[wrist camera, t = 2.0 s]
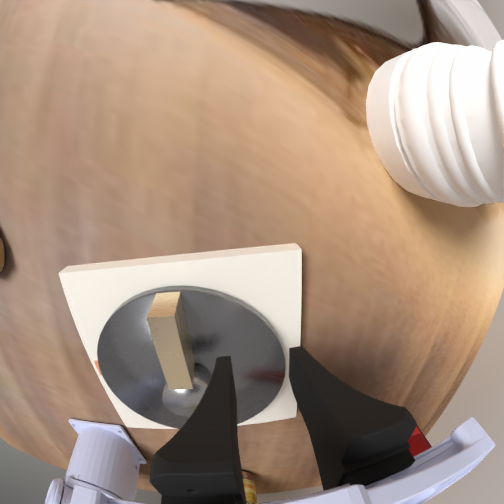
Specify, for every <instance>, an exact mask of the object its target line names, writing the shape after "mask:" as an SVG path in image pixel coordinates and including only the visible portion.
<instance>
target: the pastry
mask: <svg viewBox="0 0 504 504" xmlns="http://www.w3.org/2000/svg"><path fill="white" fill-rule="evenodd" d="M3 266H4V244H3V241H2V239H1V237H0V272H1V271H2V269H3Z"/></svg>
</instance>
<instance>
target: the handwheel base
mask: <svg viewBox="0 0 504 504" xmlns="http://www.w3.org/2000/svg"><path fill="white" fill-rule="evenodd" d="M59 276H60V280H61V283H62V286H63V290H64V293H65V296H66V299H67V302H68V305H69V308H70V311H71V313H72V316H73V319H74V322H75V324H76V327H77V329H78V332H79V335H80V337H81V339H82V342H83V344H84V347H85V349H86V351H87V353H88V356H89V358H90V360H91V362H92V364H93V367H94V369H95V371H96V373H97V375H98V377H99V379H100V381H101V383H102V385H103V387H104V389H105V390H106V392H107V394H108V396H109V398H110V400H111V401H112V403H113V405H114V407H115V408H116V410H117V412H118V414H119V415H120V417H121V419H122V420H123V422H124V423H125V425H126V427H134V428H154V429H177V428H172V427H168V426H164V425H161V424H158V423H156V422H153V421H151V420H149V419H146V418H144V417H143V416H141V415H139V414H137V413H136V412H134V411H133V410H131V409H130V408H128V407H127V406H126V405H125V404H124V403H122V402H121V401H120V400H119V399H118V398H117V397H116V396H115V394H114V393H113V392H112V391H111V389H110V388H109V387H108V385H107V383H106V382H105V380H104V378H103V376H102V373H101V371H100V368H99V364H98V358H97V346H98V340H99V337H100V333H101V331H102V329H103V328H104V326H105V324H106V322H107V320H108V319H109V317H110V316H111V315H112V313H113V312H114V311H115V310H116V309H117V308H118V307H119V306H120V305H121V304H122V303H123V302H125V301H127V300H128V299H130V298H131V297H133V296H135V295H137V294H140V293H142V292H144V291H147V290H151V289H154V288H159V287H166V286H182V285H186V286H197V287H203V288H208V289H213V290H216V291H219V292H222V293H226V294H228V295H231V296H233V297H235V298H237V299H239V300H241V301H243V302H244V303H246V304H248V305H249V306H251V307H252V308H254V309H255V310H256V311H257V312H259V313H260V314H261V315H262V316H263V317H264V318H265V319H266V320H267V321H268V322H269V324H270V325H271V326H272V328H273V329H274V331H275V332H276V334H277V337H278V339H279V341H280V343H281V346H282V349H283V353H284V356H285V364H286V370H285V378H284V381H283V385H282V387H281V389H280V391H279V393H278V394H277V396H276V397H275V399H274V400H273V401H272V402H271V403H270V404H269V405H268V406H267V407H266V408H265V409H264V410H263V411H262V412H260V413H259V414H257V415H256V416H254V417H252V418H251V419H249V420H247V421H245V422H242V423H240V424H237V426H238V425H248V424H256V423H263V422H270V421H276V420H282V419H288V418H293V417H296V410H297V402H296V399H295V397H294V394H293V391H292V387H291V384H290V380H289V348H292V347H298V346H300V337H301V297H302V249H301V248H300V247H299V246H298V245H297V244H296V243H291V244H281V245H271V246H260V247H250V248H240V249H230V250H220V251H210V252H200V253H190V254H180V255H170V256H160V257H150V258H141V259H131V260H121V261H112V262H102V263H93V264H83V265H74V266H67V267H66V268H64V269H63V270H62V271H61V272H60V273H59Z"/></svg>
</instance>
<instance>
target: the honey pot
mask: <svg viewBox="0 0 504 504" xmlns="http://www.w3.org/2000/svg"><path fill="white" fill-rule="evenodd" d="M366 113H367V126H368V129H369V133H370V136H371V140H372V144H373V147H374V149H375V151H376V153H377V155H378V157H379V159H380V161H381V163H382V165H383V167H384V168H385V169H386V171H387V172H388V173H389V175H390V176H391V177H392V179H393V180H394V181H395V182H396V183H398V184H399V185H400V186H401V187H403V188H404V189H405V190H406V191H408V192H411V193H413V194H416V195H418V196H421V197H424V198H428V199H432V200H436V201H440V202H443V203H448V204H454V205H456V206H458V207H477V206H479V205H481V204H483V203H486V204H492V203H494V202H502V203H504V40H501V41H498V42H497V43H496V45H495V47H494V49H493V50H492V52H490V51H487V50H486V49H484V48H480V47H477V46H467V47H466V46H461V45H451V44H446V43H440V42H436V43H430V44H427V45H423V46H420V47H419V48H416V49H413V50H412V51H409V52H406V53H404V54H402V55H400V56H397V57H395V58H393V59H391V60H389V61H387V62H385V63H384V64H383V65H382V66H381V67H380V68H379V69H378V70H377V71H376V72H375V74H374V76H373V78H372V80H371V82H370V84H369V87H368V94H367V100H366Z"/></svg>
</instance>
